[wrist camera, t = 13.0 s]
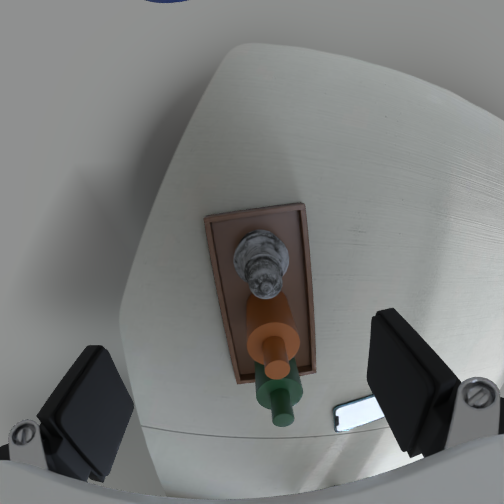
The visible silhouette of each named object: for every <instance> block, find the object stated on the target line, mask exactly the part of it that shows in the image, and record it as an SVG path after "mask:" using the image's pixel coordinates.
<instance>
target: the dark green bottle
mask: <svg viewBox="0 0 504 504" xmlns="http://www.w3.org/2000/svg"><path fill="white" fill-rule="evenodd" d="M254 364H255V384H256V398H257V401H258V402H259V404H260V405H261V406H263V407H265V408H267V409H271V412H272V421H273V424H274V425H276V426H278V427H285V426H288V425H290V424H292V423H293V422H294V414H293V409H292V406H294V405H295V404H297V403H298V402H299V400H300V399H301V397H302V395H303V388H302V384H301V381H300V377H299V373H298V369H297V365H296V361H295V357H293V358H292V359H291V360H289V365H290V372H289V374H288V375H287V376H286V377H284V378H282V379H271V378H269V377H267V375H266V374H265V370H264V365H263V364H260V363H258V362H256V361H255V360H254Z"/></svg>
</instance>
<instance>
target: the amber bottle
mask: <svg viewBox="0 0 504 504" xmlns="http://www.w3.org/2000/svg"><path fill="white" fill-rule="evenodd" d="M246 326H247V350H248V353H249V355H250V356H251V357H252V359H254V360H255V361H256V362H258V363H260V364H263V365H264V370H265V374H266V375H267V377H269V378H271V379H282V378H284V377H286V376H287V375H288V374H289V372H290V365H289V360H291V359H292V358H293V357H294V356H295V355H296V353H297V351H298V349H299V346H300V339H299V335H298V332H297V329H296V326H295V323H294V319H293V316H292V313H291V310H290V307H289V304H288V301H287V298H286V296H285V295H284V293H283V292H282V291H280V292H279V294H277V295H276V296H275V297H273V298H270V299H261V298H258V297H257V296H255V295H254V294H253V293H252V294H251V295H250V296H249V298H248V300H247V304H246Z"/></svg>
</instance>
